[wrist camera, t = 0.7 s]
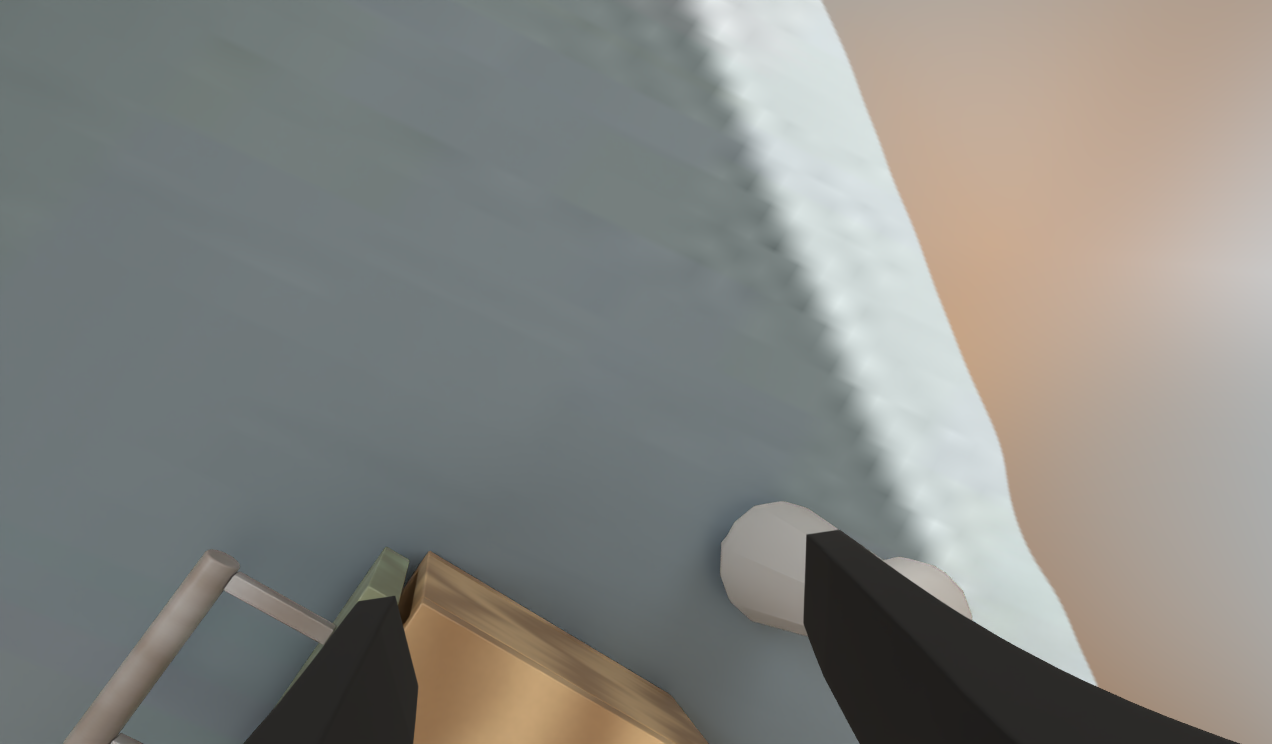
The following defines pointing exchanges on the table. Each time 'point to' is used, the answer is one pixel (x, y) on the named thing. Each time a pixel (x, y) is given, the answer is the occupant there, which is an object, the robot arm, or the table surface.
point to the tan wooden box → (519, 674)
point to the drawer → (183, 613)
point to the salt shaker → (797, 566)
